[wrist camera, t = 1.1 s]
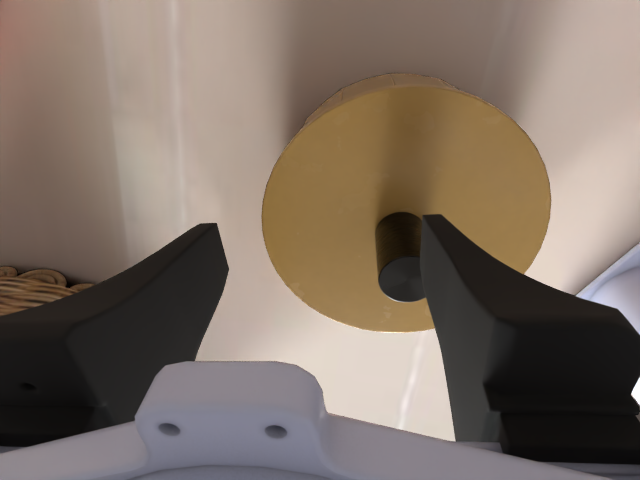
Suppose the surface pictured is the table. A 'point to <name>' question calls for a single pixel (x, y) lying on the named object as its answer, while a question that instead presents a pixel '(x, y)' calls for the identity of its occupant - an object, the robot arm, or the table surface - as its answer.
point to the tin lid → (398, 199)
